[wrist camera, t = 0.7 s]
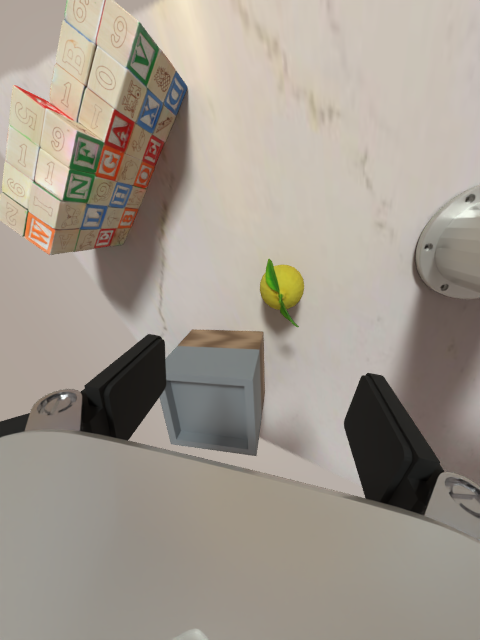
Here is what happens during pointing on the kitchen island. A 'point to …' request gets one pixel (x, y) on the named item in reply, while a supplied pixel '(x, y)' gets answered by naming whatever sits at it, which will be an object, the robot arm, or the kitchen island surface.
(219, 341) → the tower base block
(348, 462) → the kitchen island surface
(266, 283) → the lemon
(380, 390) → the robot arm
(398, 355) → the kitchen island surface
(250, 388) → the tower top block
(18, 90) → the stack of blocks
